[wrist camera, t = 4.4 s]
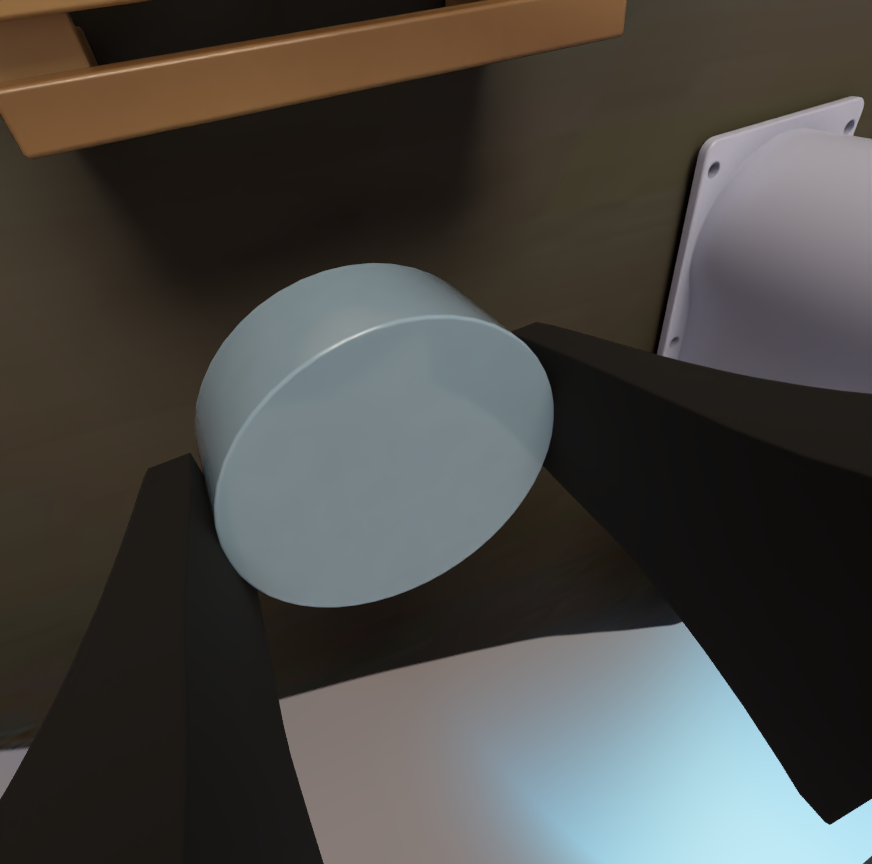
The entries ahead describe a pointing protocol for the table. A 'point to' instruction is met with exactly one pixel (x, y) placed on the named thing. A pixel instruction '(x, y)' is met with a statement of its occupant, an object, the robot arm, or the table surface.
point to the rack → (255, 65)
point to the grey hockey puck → (367, 434)
